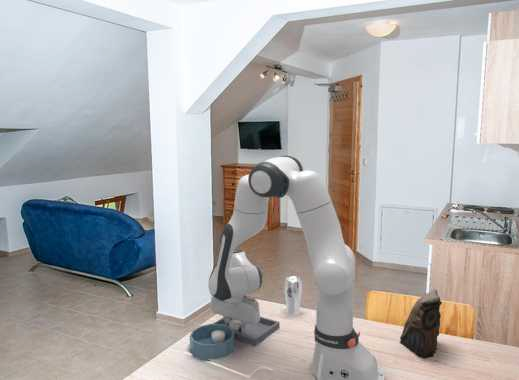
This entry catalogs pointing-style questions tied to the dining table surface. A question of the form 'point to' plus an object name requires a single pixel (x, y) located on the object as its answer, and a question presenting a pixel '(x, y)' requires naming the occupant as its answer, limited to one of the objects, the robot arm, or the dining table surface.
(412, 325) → the owl
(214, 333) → the stone
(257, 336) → the tray
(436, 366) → the dining table surface
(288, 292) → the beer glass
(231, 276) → the robot arm
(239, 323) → the stone
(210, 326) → the bowl
